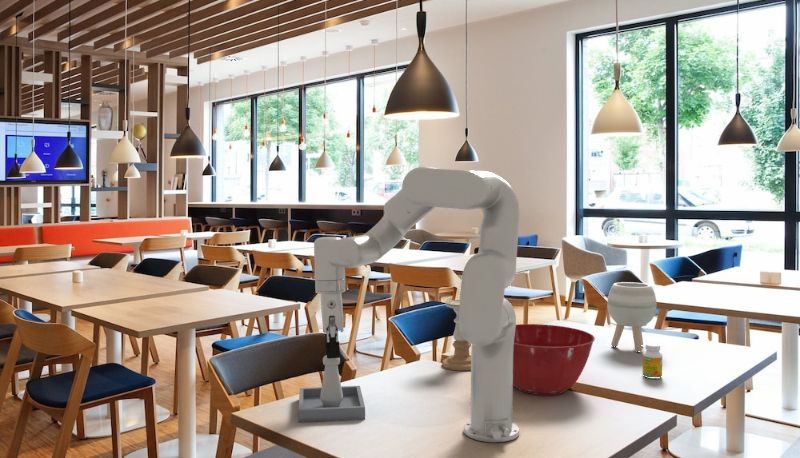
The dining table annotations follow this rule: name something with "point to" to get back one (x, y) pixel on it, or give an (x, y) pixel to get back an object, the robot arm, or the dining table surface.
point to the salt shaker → (331, 383)
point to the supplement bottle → (652, 361)
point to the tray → (316, 412)
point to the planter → (631, 309)
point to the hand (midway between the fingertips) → (332, 353)
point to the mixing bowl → (549, 357)
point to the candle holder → (458, 345)
